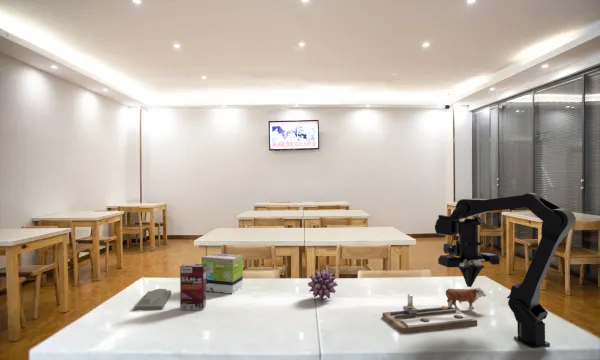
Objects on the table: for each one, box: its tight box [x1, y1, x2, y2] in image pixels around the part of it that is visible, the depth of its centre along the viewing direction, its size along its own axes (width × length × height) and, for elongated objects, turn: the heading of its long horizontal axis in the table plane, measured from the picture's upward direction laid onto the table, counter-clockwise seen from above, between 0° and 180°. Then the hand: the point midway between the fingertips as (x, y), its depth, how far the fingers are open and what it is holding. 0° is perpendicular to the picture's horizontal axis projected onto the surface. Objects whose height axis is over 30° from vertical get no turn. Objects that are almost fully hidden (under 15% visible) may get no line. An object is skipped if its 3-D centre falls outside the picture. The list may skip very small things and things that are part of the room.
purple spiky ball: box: [307, 268, 339, 300], centre depth 150 cm, size 12×12×12 cm
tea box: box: [201, 252, 244, 294], centre depth 165 cm, size 15×10×15 cm
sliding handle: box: [402, 294, 418, 314], centre depth 127 cm, size 4×3×5 cm
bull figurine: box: [445, 286, 487, 311], centre depth 137 cm, size 4×13×8 cm, turn 78°
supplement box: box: [179, 263, 207, 311], centre depth 141 cm, size 9×5×16 cm, turn 91°
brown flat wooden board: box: [382, 305, 478, 334], centre depth 125 cm, size 14×26×3 cm, turn 103°
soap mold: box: [133, 288, 172, 312], centre depth 149 cm, size 10×20×4 cm, turn 8°
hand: (469, 286), depth 122 cm, fingers closed
